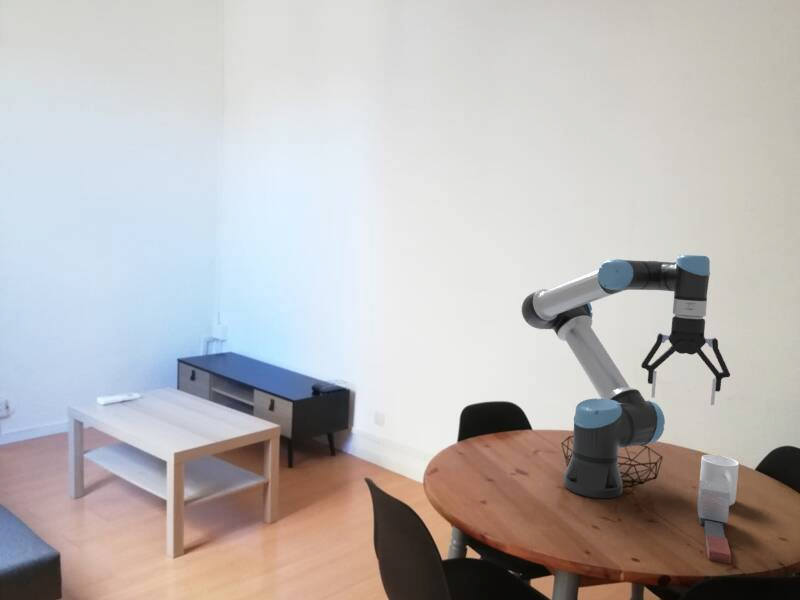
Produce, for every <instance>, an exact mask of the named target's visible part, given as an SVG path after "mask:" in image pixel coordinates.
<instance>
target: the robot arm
mask: <svg viewBox="0 0 800 600" xmlns="http://www.w3.org/2000/svg"><path fill="white" fill-rule="evenodd" d="M676 258H677V259H676V262H672V261H671V262H669V261H657V260H631V259H630V260H629V259H628V260H626V259H618V258H616V259H608V260H606V261H604V262H602V264H601V265H600V266H599V269H597V270H594V271H592V272H590V273H586V274H584V275H583V276H580V277H577V278H575V279H573V280H570V281H568V282H565V283H563V284H561V285H558V286H555V287H553V288H550V289H545V288H543V289H539V290H536V291H534V292H533V293H530V294H529V295H528V296H526V297H525V299H524V300H523V302H522V305H521V314H522V318H523V320H524V321H525V322H526V324H528V325H529V326H530V327H532V328H535V329H537V330H538V329H539V330H553V331H554V333H555V334H556V337H558V339H559V340H560V341H564V342H566V343H567V345H568V346H569V349H571V351H572V353H573V354H574V356H575V358H576V360H577V361H578V363H579V364H580V367H581V368H582V370H583V371H584V372H585V375H586V376H587V377H588V379H589V381H590V383H591V384H592V386H593V388H594V389H595V391H596V392H597V394H598V396H599V398H587V399H585V400H582V401H581V402H579V403H577V405H576V406H575V413H574V416H573V433H572V434H573V436H572V437H573V438H572V450H571V452H572V453H571V458H570V461H569V462H568V465H567V468H566V470H565V472H564V474H563V487H565V488H566V489H567V490H569V491H570V492H572V493H575V494H577V495H580V496H583V497H588V498H593V499H614V498H618V497H620V496H621V495H622V494H623V479H622V476H621V472H620V468H619V464H618V459H619V458H618V457H619V449H620V448H621V449H622V448H628V447H637V446H638V447H639V446H647V445H649V444H653V443H655V442H657V441H658V440H659V439H660V438H661V437H662V435H663V433H664V431H665V423H666V421H665V416H664V412H663V410H662V408H661V407H660V405H658V403H656V402H653V401H651V400H645V398H644V396H643V395H642V393H641V392H640V391H639V389H637V388H632V387H630V386H629V384H628V382H627V381H626V379H625V378H624V376H623V375H622V373H621V371H620V370H619V368H618V367H617V365H616V364H615V362H614V360H613V359H612V357H611V356H610V354H609V352H608V351H607V349H606V348H605V347H604V345H603V344H602V342H601V341H600V339H599V338H598V336H597V334H596V333H595V331H594V330H593V329H592V325H593V312H592V311H593V308H592V304H591V303H593V302H596V301H597V300H601V299H603V298H606V297H609V296H612V295H615V294H619V293H621V292H624V291H628V290H629V291H631V290H632V291H637V290H638V291H639V290H640V291H664V292H665V291H667V292H674V293H673V306H672V314H673V315H674V316H672V319H671V330H670V334H669V335H668V334H663V333H661V332H659V333H658V334H657V336H656V341H655V342H654V344H653V346H652V347H651V349H650V351H649V352H648V353H647V355H646V356H645V358H644V359H643V361H642V363H641V368H642V369H645V370H646V371H647V372H648V375H647V384H649V385H651V396H650V398H651V399H652V398H653V399H655V396H656V384H657V383H656V381H657V370H656V369H657V368H658V367H659V366H661V365H662V364H663V363H664V362H665V361H666V360H667V359H669V358H670V357H671V356H672V355H673V354H674V353H675V352H677V354H683V355H684V354H688V355H690V356H691V355H692V356H693V355H695V354H697V355H698V357H700V358H701V360H702V361H703V363H704V364H705V365H706V367H707V368H708V369H709V370H710V371H711V373H712V374H713V375H714V376H711V382H710V383H711V385H710V396H709V397H710V398H709V404H710V406H715V398H716V392H717V393H718V392H719V393H720V391H721V388H722V380H723V379H725V378H730V377H731V373H730V371H729V369H728V367H727V364H726V362H725V360H724V358H723V355H722V354H721V351H720V349H719V341H718V339H717V337H712V338H705V328H706V320H705V317H706V316H707V303H708V289H709V283H710V282H709V281H710V276H711V271H710V270H711V269H710V267H711V266H710V264H711V261H710V258H709V257H708V256H706V255H696V254H695V255H694V254H679V255H678V256H677V257H676ZM667 340H668V341H669V343H670V344H671V346H670V347H669V348H668V349H667V350H666V351H665V352H664V353H663V354H661V355H660V356H659V357H658V358H657V359H656V360H655V361H653V363H651V364H650V362H651V361H652V359H653V358H654V355H655V354H656V353H657V352H658V350H659V348H660V347H661V345H662V344H664V343H665V342H666V341H667ZM706 344H707V345H708V346H709V348H711V349H712V351H713V353H714V355H715V359H717V361H718V364H719V367H720V369H721V371H719V370H718V368H717V367H715V365H714V364H713V363H712V361H711V360H710V359H709V357H708V356H707V355H706V354H705V353H704V351H703V350H702V348H703V347H704V346H705V345H706Z"/></svg>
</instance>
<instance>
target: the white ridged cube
mask: <svg viewBox="0 0 800 600" xmlns="http://www.w3.org/2000/svg"><path fill="white" fill-rule="evenodd" d="M698 484H699V485H698V494H697V496H698V497H697V507H696V509H697V516H698V519H699V518H704V519H709V520H715V521H720V522H725V523H726V524H727V523H728V522H729V510H730V506H729V501H730V491H729V488H728V485H726V484H720V483H714V482H708V481H702V480H700V479H699V483H698ZM725 523H724V524H725Z"/></svg>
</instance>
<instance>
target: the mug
mask: <svg viewBox="0 0 800 600" xmlns="http://www.w3.org/2000/svg"><path fill="white" fill-rule="evenodd" d="M739 467H740V463H739V462H738V460H735V459H734V458H731V457H727V456H724V455H718V454H704V455H702V456H701V462H700V473H699V481H700V480H702V481H708V482H714V483H720V484H726V485H728V488H729V491H730V501H729V507H730V506H734V504H735V503H736V498H737V487H738V480H739V469H740V468H739Z"/></svg>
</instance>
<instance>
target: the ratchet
mask: <svg viewBox="0 0 800 600" xmlns="http://www.w3.org/2000/svg"><path fill="white" fill-rule="evenodd" d="M698 519H699V525H700V526H703V530H704V535H705V547H706V553H707V558H708V560H710V561H713V562H719V563H724V564H728V565H730V564H731V560H732V559H731V558H732V554H731V549H730V546H729V541H728V538H727V537H726V533H725V522H720V521H715V520H709V519H704V518H699V517H698Z"/></svg>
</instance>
